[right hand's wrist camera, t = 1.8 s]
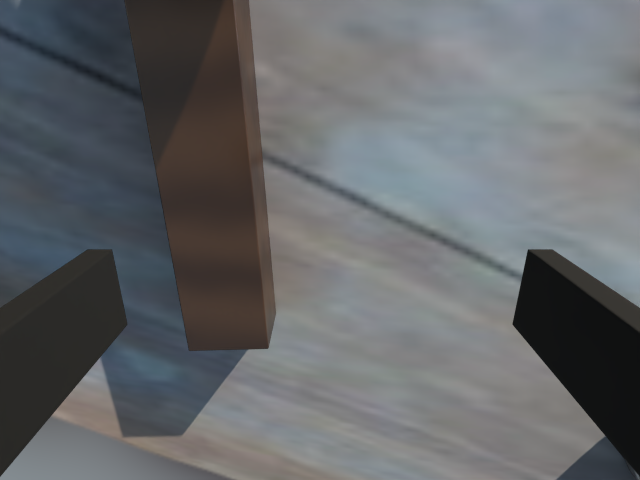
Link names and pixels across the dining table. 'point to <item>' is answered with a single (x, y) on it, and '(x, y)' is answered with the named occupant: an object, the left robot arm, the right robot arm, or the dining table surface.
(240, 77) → the plank
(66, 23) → the dining table surface
